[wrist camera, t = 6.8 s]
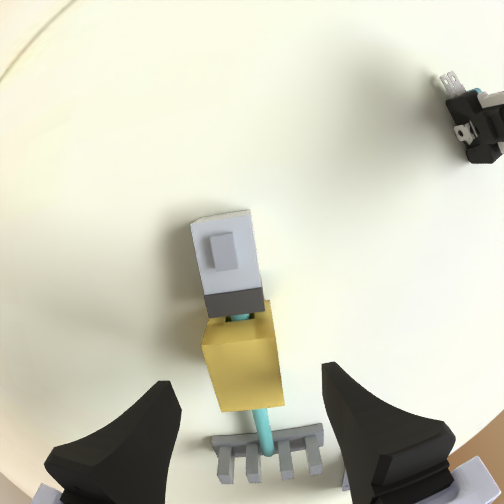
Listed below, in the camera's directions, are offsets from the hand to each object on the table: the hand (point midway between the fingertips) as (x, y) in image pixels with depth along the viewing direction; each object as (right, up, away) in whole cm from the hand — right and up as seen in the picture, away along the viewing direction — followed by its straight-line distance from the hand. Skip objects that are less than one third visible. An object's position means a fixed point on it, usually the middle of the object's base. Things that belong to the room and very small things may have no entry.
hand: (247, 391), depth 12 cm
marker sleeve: (0, +1, +5) cm, 5 cm away
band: (-1, +5, +4) cm, 6 cm away
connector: (-1, +7, +4) cm, 8 cm away
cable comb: (+2, -9, +8) cm, 12 cm away
